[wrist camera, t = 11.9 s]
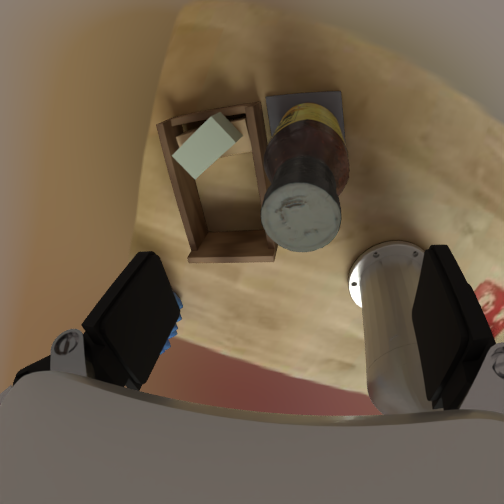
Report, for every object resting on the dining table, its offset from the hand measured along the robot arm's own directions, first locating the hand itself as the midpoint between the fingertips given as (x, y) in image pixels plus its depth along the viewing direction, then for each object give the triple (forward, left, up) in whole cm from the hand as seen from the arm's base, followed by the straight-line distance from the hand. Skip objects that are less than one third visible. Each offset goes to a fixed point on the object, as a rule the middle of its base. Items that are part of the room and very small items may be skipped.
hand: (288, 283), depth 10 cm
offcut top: (+10, -1, -22) cm, 25 cm away
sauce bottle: (0, 0, -25) cm, 25 cm away
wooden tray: (+10, +5, -26) cm, 28 cm away
